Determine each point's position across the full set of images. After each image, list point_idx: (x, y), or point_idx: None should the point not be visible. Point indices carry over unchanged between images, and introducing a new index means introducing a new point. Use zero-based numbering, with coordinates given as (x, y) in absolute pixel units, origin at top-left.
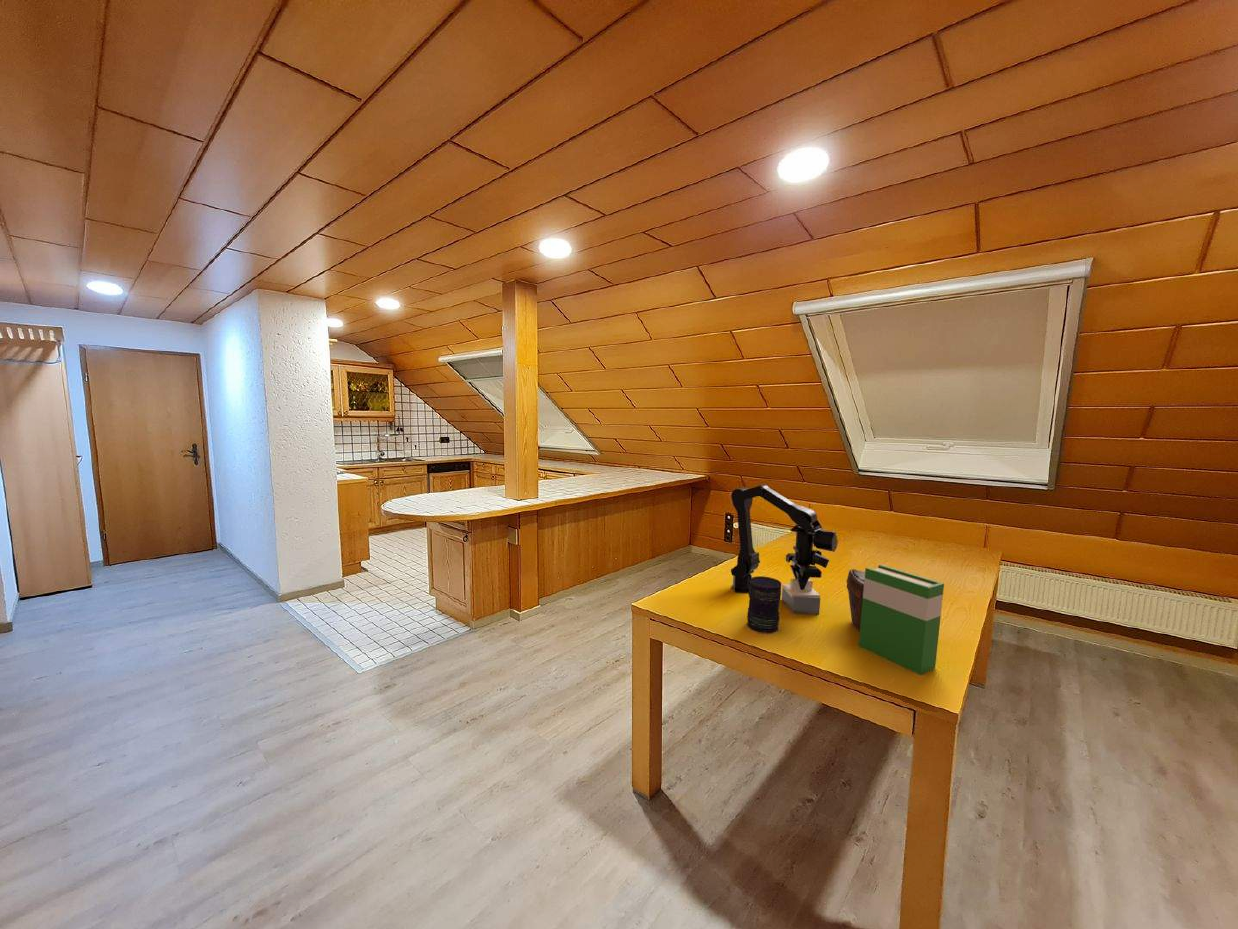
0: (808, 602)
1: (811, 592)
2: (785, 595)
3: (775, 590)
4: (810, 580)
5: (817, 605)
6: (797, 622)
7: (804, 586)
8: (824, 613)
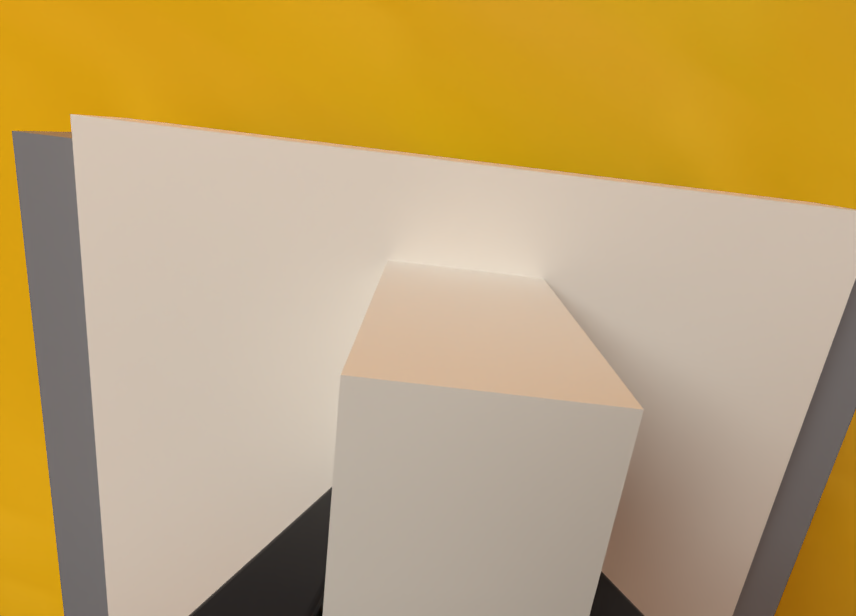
0: None
1: (638, 342)
2: None
3: None
4: (495, 450)
5: None
6: (852, 565)
7: (596, 592)
8: (694, 90)
